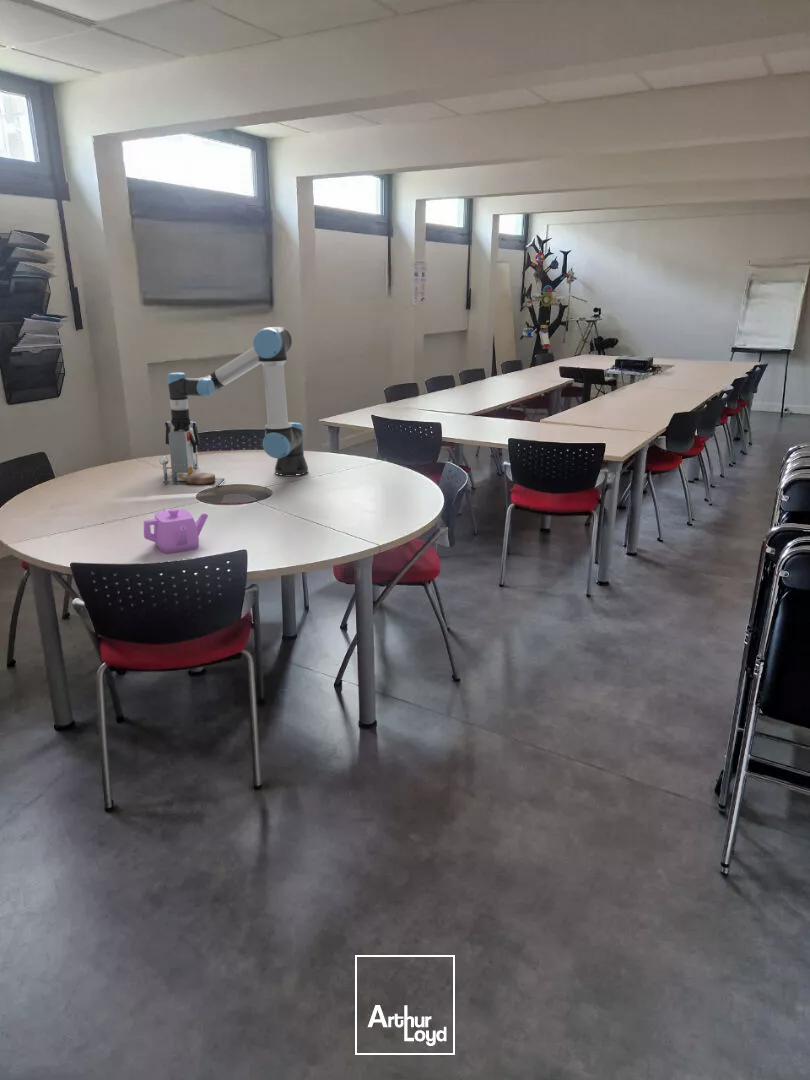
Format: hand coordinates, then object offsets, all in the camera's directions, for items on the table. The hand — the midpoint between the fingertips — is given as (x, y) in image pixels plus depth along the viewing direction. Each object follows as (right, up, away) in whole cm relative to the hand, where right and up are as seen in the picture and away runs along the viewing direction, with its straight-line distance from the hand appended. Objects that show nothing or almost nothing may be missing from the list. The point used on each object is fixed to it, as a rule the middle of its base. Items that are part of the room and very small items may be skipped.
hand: (184, 459), depth 317 cm
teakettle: (+25, -38, -84) cm, 96 cm away
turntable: (+10, -11, -15) cm, 21 cm away
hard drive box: (0, -7, +2) cm, 7 cm away
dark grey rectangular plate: (+8, -12, -14) cm, 21 cm away
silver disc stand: (-3, -11, -16) cm, 20 cm away
